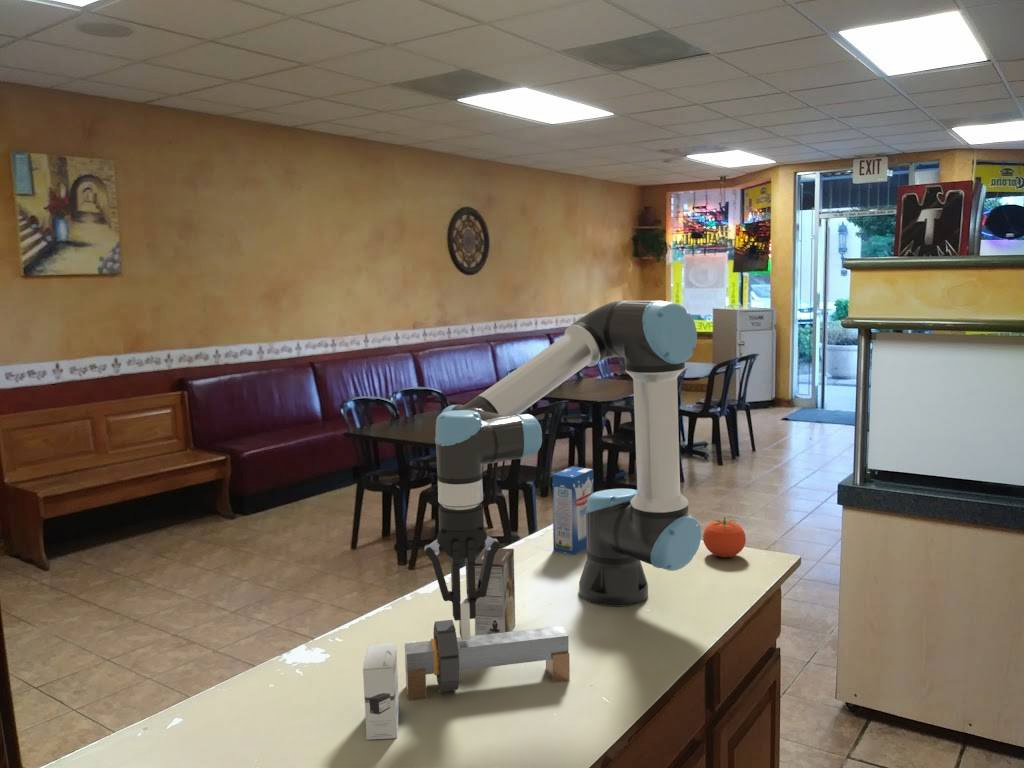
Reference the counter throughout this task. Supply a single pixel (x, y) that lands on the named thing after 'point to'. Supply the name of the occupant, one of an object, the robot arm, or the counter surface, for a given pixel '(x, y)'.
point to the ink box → (381, 691)
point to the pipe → (490, 655)
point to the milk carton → (571, 508)
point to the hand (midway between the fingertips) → (464, 636)
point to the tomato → (724, 538)
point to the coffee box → (496, 595)
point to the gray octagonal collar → (447, 655)
